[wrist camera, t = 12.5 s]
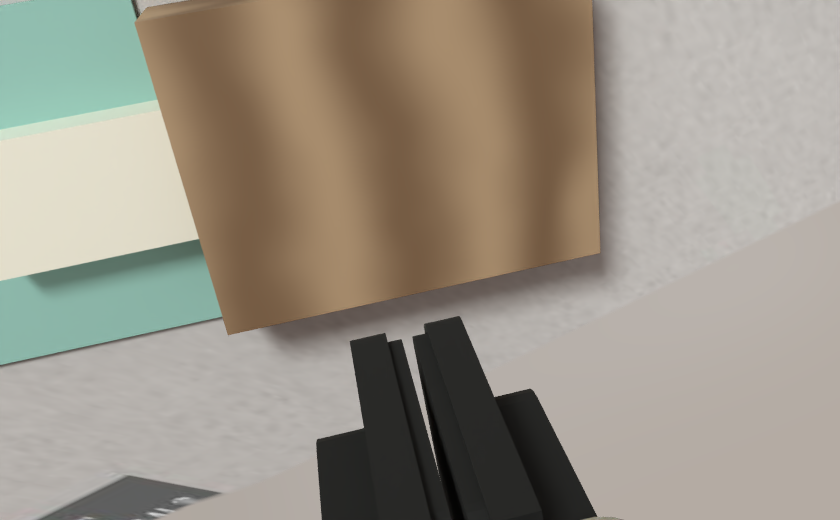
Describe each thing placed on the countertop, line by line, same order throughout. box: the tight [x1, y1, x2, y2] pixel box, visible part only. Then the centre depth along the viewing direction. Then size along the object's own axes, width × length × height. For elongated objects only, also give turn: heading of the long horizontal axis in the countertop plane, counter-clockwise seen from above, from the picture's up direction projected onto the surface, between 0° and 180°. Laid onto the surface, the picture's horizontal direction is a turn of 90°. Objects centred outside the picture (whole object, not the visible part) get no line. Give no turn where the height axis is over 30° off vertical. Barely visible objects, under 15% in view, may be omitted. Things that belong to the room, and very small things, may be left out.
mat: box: [0, 0, 222, 365], centre depth 34 cm, size 15×16×1 cm
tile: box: [0, 100, 199, 281], centre depth 34 cm, size 9×6×2 cm, turn 98°
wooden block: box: [134, 0, 600, 335], centre depth 35 cm, size 18×14×4 cm
